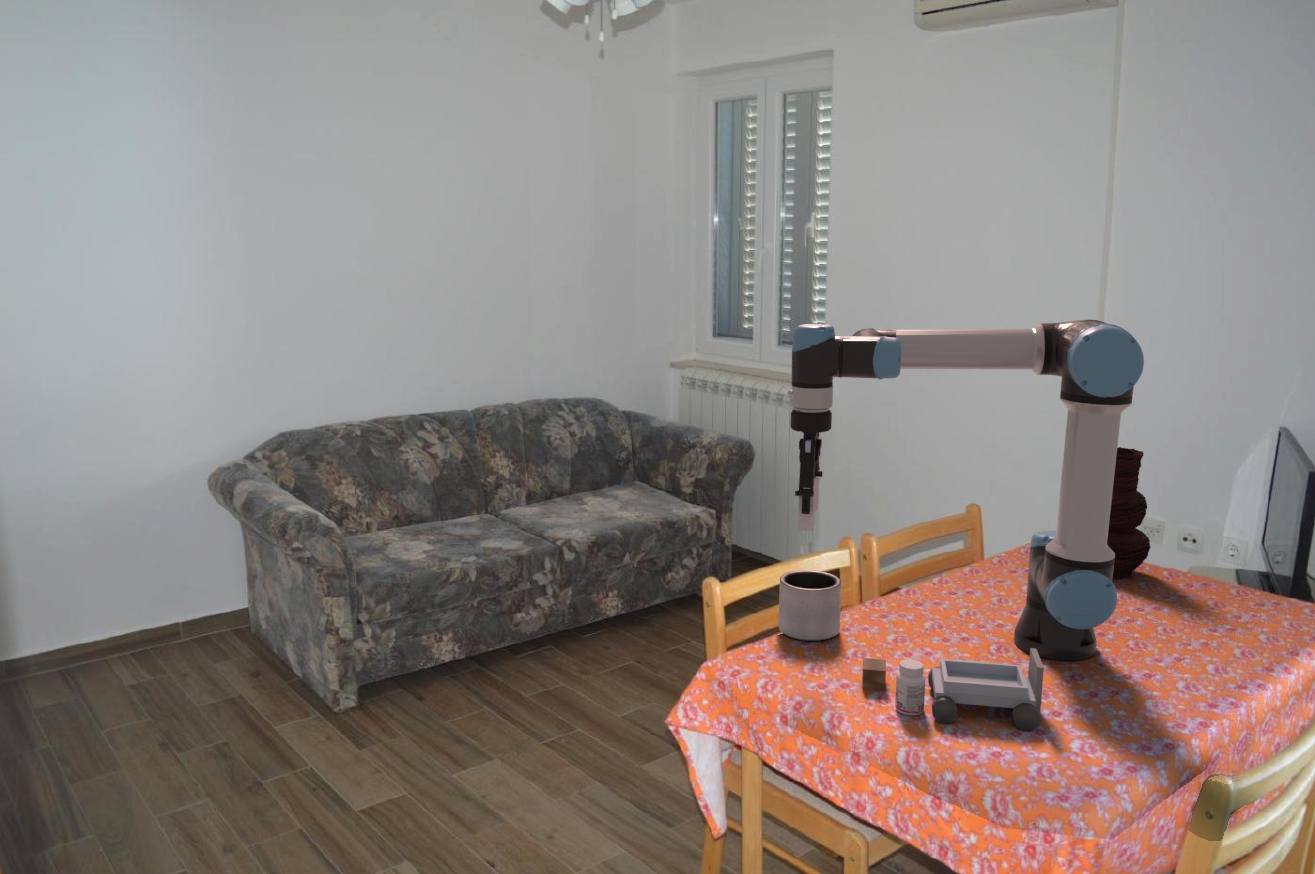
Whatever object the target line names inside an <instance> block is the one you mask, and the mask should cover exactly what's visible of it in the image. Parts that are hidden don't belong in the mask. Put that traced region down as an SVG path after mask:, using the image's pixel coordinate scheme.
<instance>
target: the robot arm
mask: <svg viewBox="0 0 1315 874" xmlns="http://www.w3.org/2000/svg"><path fill="white" fill-rule="evenodd" d="M792 333H793V334H792V348H791V389H789V390H788V391H787V394H788V396H792V397H791V401H790V406H791V407H793V408H792V409H791V410H790V429H791V430H793V431H795V432H801V433H803V437H800V439H799V441H798V449H799V455H798V458H799V464H800V465H799V482H798V490H795V491H794V493H795V494H794V496H795V497H798V515H797V516H798V518H797V530H798V531H809V532H814V515H815V514H814V513H815V512H818V511H819V482H820V478H822V477H823V471H822V470H821V471H820V469H821V467H820V456H821V448H822V444H823V443H822V442H823V441H822V440H823V439H822V438H820V434H821V433H826V432H829V431H830V430H831V429H832V421H833V420H832V417H833V412H832V410H831V408H832V407H833V398H834V397H833V396H834V394H833V393H834V384H833V381H834V380H833V379H834V378H840V379H841V378H852V379H853V378H855V379H856V378H857V379H858V378H859V379H878V380H883V379H896V378H898V377H899V376H900V374H901V370H915V369H916V370H1031V371H1033V372H1034V374H1036V375H1037V376H1041V375H1042V376H1047V375H1048V376H1056V377H1061V382H1060V395H1059V400H1060V401H1061V402H1062V403H1063V405H1065V406H1066V408H1067V416H1066V426H1065V427H1066V428H1065V435H1064V436H1065V437H1064V439H1065V440H1064V447H1063V448H1064V449H1063V457H1062V459H1063V461H1062V470H1061V477H1060V490H1059V499H1058V509H1057V510H1058V511H1057V519H1056V521H1057V522H1056V530H1044V531H1043V530H1042V531H1038V532H1035V533H1033V534H1032V535H1031V537H1030V543H1029V544H1030V545H1029V546H1028V549H1029V558H1028V570H1027V571H1028V572H1027V586H1026V600H1025V601H1026V602H1025V606H1024V607H1023V610H1022V612H1021V614H1020V616H1019V619H1018V621H1017V623H1016V626H1015V629H1014V633H1013V634H1014V635H1013V642H1014V644H1015V645H1016V646H1017V647H1018V648H1019V649H1020V650H1022V651H1024V652H1026V653H1029V654H1030V648H1034V649H1037V652H1038V654H1039V657H1040V658H1044V659H1049V660H1055V661H1071V662H1073V661H1082V660H1086V659H1090V658H1091V657H1093V656H1094V655H1096V652H1097V637H1096V633H1095V629H1094V628H1097V627H1099V626H1101V625H1102V624H1104V623H1105V622H1107V621H1108V620H1109V619H1110V618H1111V617H1112V615H1113V614H1114V613H1115V611H1116V609H1117V605H1118V593H1117V592H1118V591H1117V588H1116V585H1115V584H1114V582H1113V579H1114V578H1113V570H1114V560H1115V553H1114V552H1113V551H1112V550H1111V549H1110V548H1109V546H1108V545H1107V538H1108V529H1109V520H1110V510H1111V501H1112V492H1113V483H1114V473H1115V464H1116V455H1117V448H1118V447H1119V446H1118V444H1119V436H1120V434H1119V433H1120V428H1121V427H1120V426H1121V415H1122V413H1123V412H1124V411H1125V410H1126V409H1128V408H1129V407H1130V406H1132V403H1133V395H1134V388H1135V387H1134V386H1136V384H1137V383H1138V381H1139V379H1140V378H1141V376H1142V374H1143V371H1144V365H1145V359H1144V352H1143V349H1142V347H1141V345H1140V343H1139V342H1138V341H1137V339H1136V338H1135V337H1134V336H1133V334H1132V333H1130V332H1129V331H1128V330H1126V329H1124V328H1122V327H1120V326H1118V325H1117V324H1110V323H1107V322H1104V321H1100V320H1098V319H1080V320H1079V319H1077V320H1073V321H1072V320H1071V321H1063V322H1062V321H1061V322H1049V323H1046V322H1045V323H1044V322H1043V323H1042V322H1041V323H1037V324H1036V325H1035V326H1034V327H1032V328H984V329H983V328H981V329H980V328H979V329H978V328H977V329H976V328H975V329H974V328H972V329H971V328H969V329H961V328H960V329H957V328H956V329H954V328H953V329H950V328H949V329H947V328H946V329H875V328H871V327H870V328H867V327H866V328H862V329H860V330H859V329H858V330H857V331H856V332H854V333H853V334H852V336H843V335H842V336H841V335H836V333H835V327H834V326H833V325H831V324H826V323H825V324H824V323H823V324H820V323H805V324H798V325H797V326H796V327H795V328H794V329H793V332H792ZM819 477H820V478H819Z"/></svg>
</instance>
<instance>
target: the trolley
mask: <svg viewBox="0 0 1315 874" xmlns="http://www.w3.org/2000/svg"><path fill="white" fill-rule="evenodd" d="M1028 659H1029V661H1028V673H1027V674H1028V675H1025V674H1024V672H1023V669H1022V666H1021V665H1020V664H1013V663H1012V664H1011V663H1002V662H1001V663H998V662H987V661H975V660H974V661H973V660H961V659H950V658H940V660H939V666H936V667H932V668H931V669H930V670H929V671H928V674H927V679H928V685H929V688H931V689H932V691H933V695H934V696H933V697H934V699H933V701H932V704H931V711H932V713H931V714H932V717H933V718H934V719H935V721H936V722H938V723H940V724H944V725H946V724H950V723H952V722H954V721H955V720H956V718H957V717H958V708H957V704H960V705H961V704H963V705H972V706H973V705H974V706H983V707H984V706H985V707H996V708H1009V709H1012V719H1013V723H1014V724H1015V726H1016V727H1017V728H1018V729H1019V730H1021V731H1024V732H1031V731H1034V730H1036V729H1037V728H1038V727H1039V726H1040V722H1041V710H1042V709H1041V707H1042V706H1041V705H1042V696H1043V683H1044V670H1045V669H1044V668H1045V667H1044V665H1043V662H1042V659H1041V657H1039V654H1038V652H1037V649H1034V648H1030V653H1029V658H1028Z"/></svg>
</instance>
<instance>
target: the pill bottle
mask: <svg viewBox="0 0 1315 874" xmlns="http://www.w3.org/2000/svg"><path fill="white" fill-rule="evenodd" d="M924 669H925V668H924V664H923V662H922V661H920V660H916V659H910V658H909V659H902V660H901V661H900V662H899V667H898V670H899V671H898V672H897V674H896V682H895V683H896V684H895V685H896V686H895V687H896V688H895V710H896V711H897V712H898V713H899V714H902V715H905V716H919V715H922V714H923V713H924V709H925V693H926V676H925V675H924Z"/></svg>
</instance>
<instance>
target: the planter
mask: <svg viewBox="0 0 1315 874" xmlns="http://www.w3.org/2000/svg"><path fill="white" fill-rule="evenodd" d="M778 593H779V596H778V597H779V598H778V619H777V620H778V622H777V623H778V624H777V625H778V629H779V631H780V632H781V633H782V634H783V635H785V636H787V637H789V638H791V639H794V640H798V641H803V642H804V641H805V642H819V641H820V642H821V640H823V641H826V639H827V640H830V639H832V638H834V637H836V636H837V635H838V634H839V633H840V629H841V600H842V599H841V597H842V595H841V594H842V580H841V579H840V577H838V576H837V575H834V574H832V573H829V572H826V571H823V570H822V571H821V570H814V569H813V570H811V569H810V570H808V569H806V570H805V569H801V570H791V571H788V572H786V573H784V574H782V575H781V576H780V578H779V592H778Z"/></svg>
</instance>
